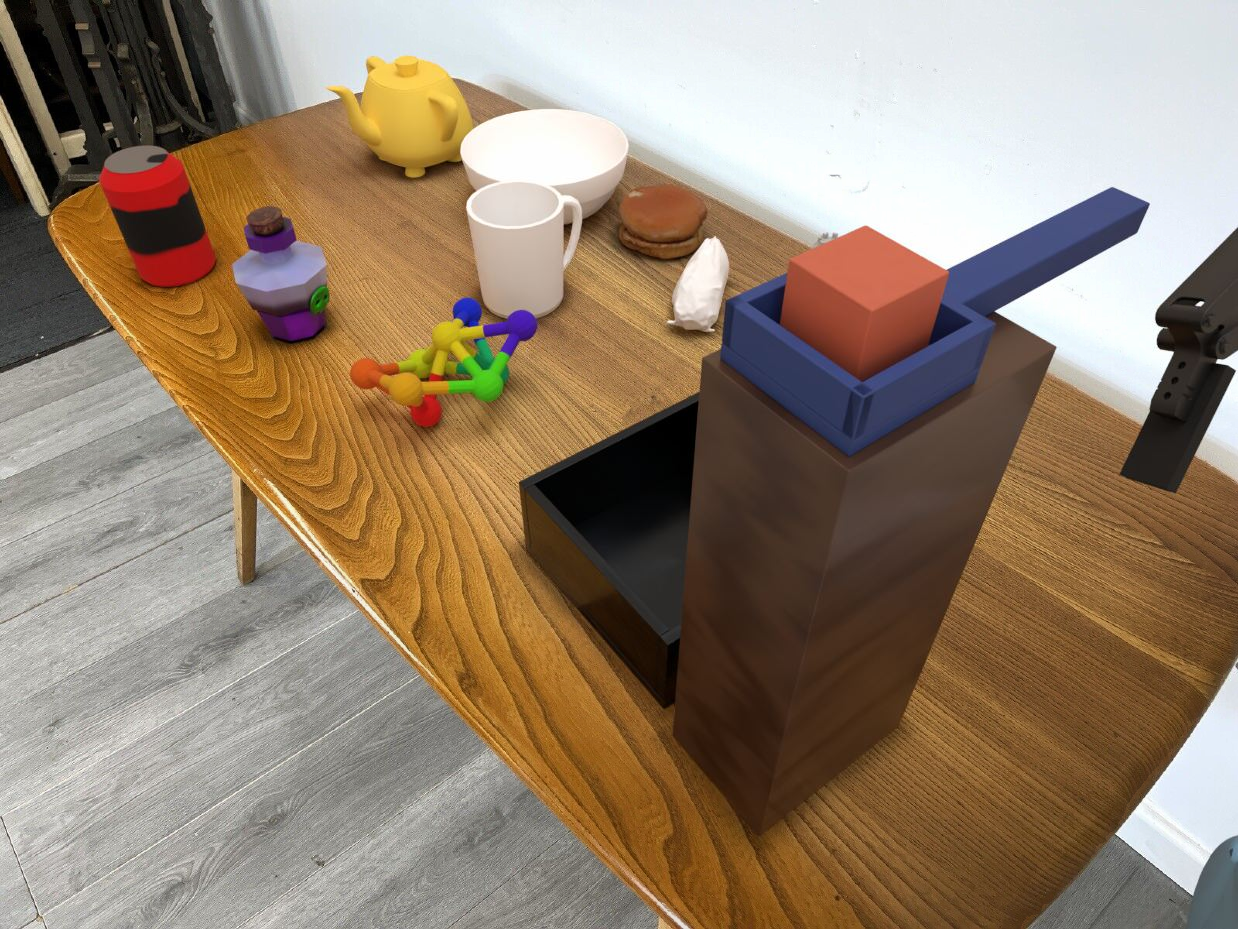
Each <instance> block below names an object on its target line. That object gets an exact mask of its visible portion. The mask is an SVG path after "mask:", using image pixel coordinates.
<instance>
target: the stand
mask: <svg viewBox="0 0 1238 929" xmlns="http://www.w3.org/2000/svg"><path fill="white" fill-rule="evenodd" d="M985 317H986V318H987V319H989V320H991V321H993V322H994V323H996V325H995V328H994V331H993V334H992V337H991V339H990V342H989V345H988V348H987V351H986V354H985V356H984V359H983V362H982V365H981V366H980V370H979V373H978V376H977V379H976V381H975V383H973V384H971V385H970V386H968V387H966V388H964V389H963V390H961V391H959V392H958V393H956V394H954V395H953V396H951V397H949V398H948V399H946V400H944V401H943V402H941V403H939V404H937V405H936V406H934V407H932V408H931V409H929V410H927V411H926V412H924V413H922V414H921V415H919V416H917V417H915V418H914V419H912V420H910V421H909V422H907V423H905V424H904V425H902V426H900V427H899V428H897V429H895V430H893V431H892V432H890V433H888V434H887V435H885V436H883V437H882V438H880V439H878V440H877V441H875V442H873V443H871V444H870V445H868V446H866V447H865V448H863V449H861V450H860V451H858V452H856V453H855V454H853V455H851V456H847V455H846V454H845V453H843V452H842V451H841V450H839V449H838V448H837V447H835V446H834V445H833V444H831V443H830V442H829V441H828V440H826V439H825V438H824V437H822V436H821V435H820V434H818V433H817V432H816V431H814V430H813V429H812V428H811V427H809V426H808V425H807V424H805V423H804V422H803V421H801V420H800V419H799V418H797V417H796V416H795V415H793V414H792V413H791V412H790V411H788V410H787V409H786V408H784V407H783V406H782V405H780V404H779V403H778V402H776V401H775V400H774V399H773V398H771V397H770V396H769V395H767V394H766V393H765V392H763V391H762V390H761V389H759V388H758V387H757V386H756V385H754V384H753V383H752V382H750V381H749V380H748V379H746V378H745V377H744V376H742V375H741V374H740V373H738V372H737V371H736V370H735V369H733V368H732V367H731V366H729V365H728V364H727V363H725V362H724V361H723V360H721V358H720V354H721V348H719V349H717V350H715V351H713V352H710V353H709V354H706V355H704V356H702V357H701V365H700V366H701V369H700V379H699V391H698V392H699V404H698V417H697V430H696V443H695V455H694V468H693V481H692V494H691V506H690V519H689V532H688V545H687V557H686V570H685V583H684V596H683V608H682V621H681V634H680V646H679V659H678V672H677V685H676V697H675V703H674V712H673V724H672V737H673V738H674V740H675V741H676V742H677V743H678V744H679V745H680V747H682V749H683V750H684V751H685V752H686V754H688V756H689V757H690V758H691V760H693V762H694V763H695V765H697V766H698V768H699V769H701V771H702V772H703V774H704V775H705V776H706V777H707V778H708V780H710V782H711V783H712V784H713V785H714V786H715V788H716V789H717V790H718V791H719V793H720V794H721V795H722V796H723V798H725V799H726V800H727V802H728V803H729V804H730V805H731V806H732V808H733V809H734V810H735V811H736V813H738V815H739V816H740V817H741V818H742V819H743V821H744V822H745V823H746V824H747V825H748V827H749V828H750V829H751V830H752V831H753V832H754V833H755V835H756V836H757V837H761V836H762V835H764V834H765V833H766V832H767V831H769V830H770V829H771V828H772V827H774V826H775V825H776V824H778V823H779V822H780V821H781V820H782V819H783V818H785V817H786V816H788V815H789V814H790V813H791V812H793V810H795V809H796V808H797V807H799V806H800V805H801V804H803V803H804V802H805V801H806V800H808V799H809V798H810V797H811V796H812V795H814V794H815V793H816V792H818V791H819V790H820V789H821V788H823V787H824V786H825V785H827V784H828V783H829V782H831V780H833V779H834V778H835V777H837V776H838V775H839V774H841V773H842V772H843V771H844V770H846V769H847V768H848V767H849V766H851V765H852V764H853V763H855V761H857V760H858V759H860V757H862V756H863V755H864V754H866V753H867V752H869V751H870V750H871V749H872V748H873V747H874V746H875V745H877V744H879V743H880V742H881V741H883V739H885V738H886V737H887V736H889V735H890V734H891V733H892V732H894V731H895V730H896V729H897V728H899V727H900V725H901V722H902V719H903V717H904V715H905V712H906V710H907V708H908V705H909V703H910V701H911V698H912V696H913V694H914V692H915V688H916V686H917V683H918V681H919V678H920V677H921V674H922V672H923V669H924V667H925V665H926V662H927V660H928V658H929V655H930V652H931V650H932V648H933V646H934V643H935V640H936V638H937V635H938V633H939V631H940V628H941V627H942V623H943V621H944V619H945V616H946V615H947V611H948V609H949V607H950V605H951V602H952V600H953V597H954V595H955V593H956V590H957V588H958V585H959V583H960V580H961V578H962V576H963V574H964V571H965V568H966V566H967V564H968V561H969V559H970V558H971V554H972V552H973V550H974V547H975V545H976V542H977V540H978V538H979V535H980V533H981V530H982V528H983V525H984V523H985V520H986V518H987V516H988V514H989V511H990V509H991V506H992V503H993V501H994V499H995V497H996V494H997V492H998V489H999V487H1000V484H1001V482H1002V480H1003V478H1004V475H1005V472H1006V470H1007V468H1008V465H1009V463H1010V461H1011V458H1012V456H1013V454H1014V451H1015V448H1016V446H1017V445H1018V441H1019V439H1020V436H1021V434H1022V432H1023V429H1024V427H1025V425H1026V422H1027V419H1028V417H1029V415H1030V412H1031V410H1032V408H1033V405H1034V403H1035V401H1036V398H1037V396H1038V393H1039V391H1040V389H1041V386H1042V384H1043V381H1044V379H1045V377H1046V374H1047V372H1048V369H1049V368H1050V364H1051V361H1052V359H1053V357H1054V355H1055V353H1056V350H1057V348H1058V347H1057V346H1056V345H1054V344H1053V343H1051V342H1050V341H1048V340H1046V339H1044V338H1042V337H1041V336H1039V335H1037V334H1035V333H1034V332H1032V331H1030V330H1028V329H1027V328H1025V327H1024V326H1021V325H1020V324H1018V323H1016V322H1014V321H1013V320H1011V319H1009V318H1007V317H1006V316H1004V315H1002V314H1001V313H998V312H997V311H994V312H992V313H991V314H989V315H987V316H985Z"/></svg>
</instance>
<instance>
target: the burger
mask: <svg viewBox="0 0 1238 929" xmlns="http://www.w3.org/2000/svg"><path fill="white" fill-rule="evenodd" d="M618 208H619V209H618V214H619V218H620V221H621V222H622V224H621V225H620V227H619V230H618V237H619V240H620V242H621V243H622V245H624V246H626V247H627V248H628V249H630V250H637V251H638V252H639V253H641V254H643V255H645V256H650V257H654V258H658V259H661V260H662V259H663V260H664V259H665V260H666V259H676V258H679V257H685V256H688V255H689V254H692V253H694V251H697V250H698V249H699V248H700V246H701V245H702V243H703V242H704V227H703V224H704V222H705V221H706V219H707V218H708V208H707V206H706V204H705V202H704V201H703V200H702V199H701V198H700V197H699V196H698V195H696V194H695V193H694V192H692V191H691V190H689V189H687V188H684V187H682V186H679V185H675V184H659V185H654V186H653V185H652V186H641V187H635V188H633V189H632V190H630V191H629V192H627V194H626V195H625V196H624V197H623V198H622V200H621V201H620V204H619V206H618Z"/></svg>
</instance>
